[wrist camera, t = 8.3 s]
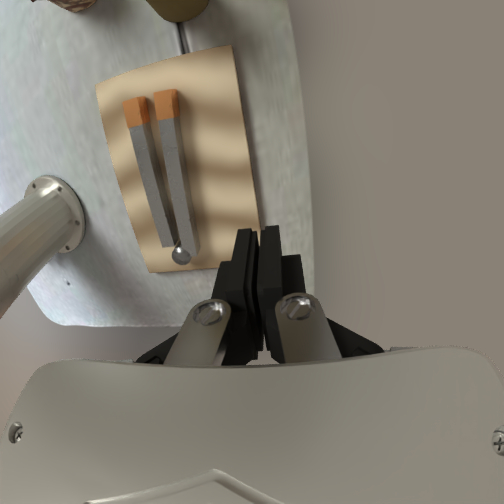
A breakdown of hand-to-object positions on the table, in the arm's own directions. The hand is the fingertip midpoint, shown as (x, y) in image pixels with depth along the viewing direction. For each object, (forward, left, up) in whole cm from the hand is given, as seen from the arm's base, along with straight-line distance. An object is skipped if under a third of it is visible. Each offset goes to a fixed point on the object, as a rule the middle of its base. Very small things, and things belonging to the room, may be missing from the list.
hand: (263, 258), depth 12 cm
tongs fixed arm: (-10, +8, -20) cm, 23 cm away
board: (-8, +6, -21) cm, 23 cm away
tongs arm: (-9, +6, -20) cm, 22 cm away
